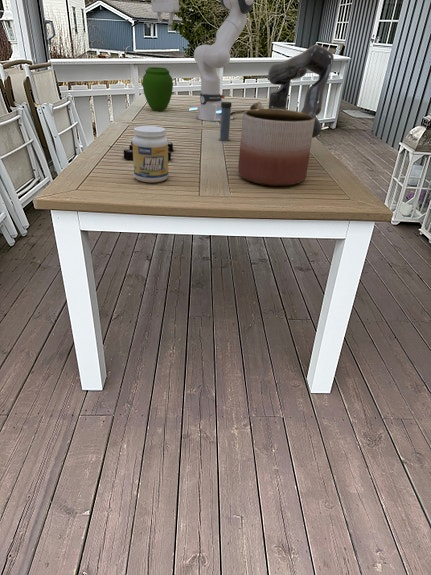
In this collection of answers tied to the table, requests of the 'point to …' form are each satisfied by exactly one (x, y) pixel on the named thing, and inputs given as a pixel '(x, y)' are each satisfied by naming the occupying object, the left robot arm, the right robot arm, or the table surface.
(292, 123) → the planter
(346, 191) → the table surface
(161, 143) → the supplement tub
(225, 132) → the dark grey cylinder
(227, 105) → the lid
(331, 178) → the table surface
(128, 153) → the black printed glove
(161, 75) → the vase
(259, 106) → the seashell
